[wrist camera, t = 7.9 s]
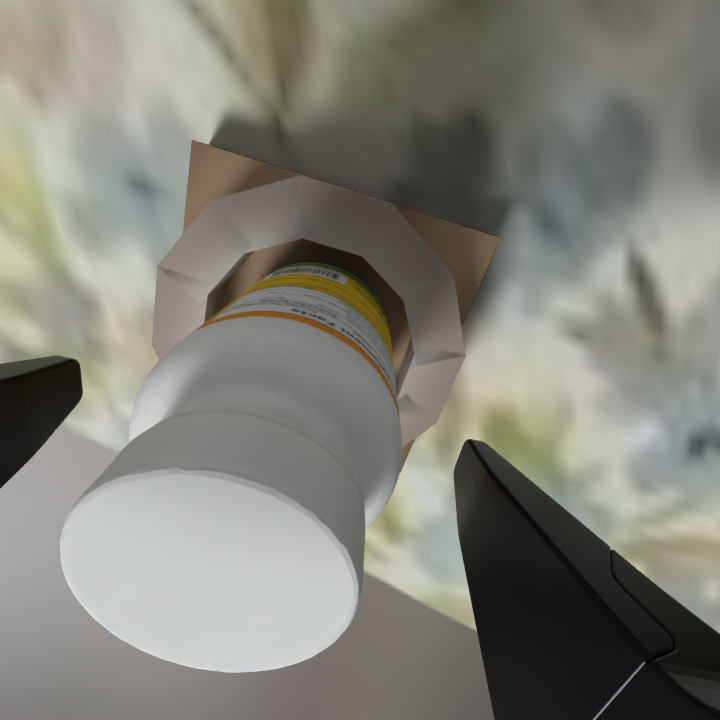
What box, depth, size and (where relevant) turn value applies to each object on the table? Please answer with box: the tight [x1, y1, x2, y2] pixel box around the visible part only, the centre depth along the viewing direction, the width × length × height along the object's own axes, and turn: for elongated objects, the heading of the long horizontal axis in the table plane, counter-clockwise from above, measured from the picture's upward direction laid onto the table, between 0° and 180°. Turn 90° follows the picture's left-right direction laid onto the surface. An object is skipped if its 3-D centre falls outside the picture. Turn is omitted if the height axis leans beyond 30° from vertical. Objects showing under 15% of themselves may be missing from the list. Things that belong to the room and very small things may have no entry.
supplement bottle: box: [60, 262, 402, 672], centre depth 9 cm, size 5×5×10 cm
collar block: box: [152, 140, 500, 473], centre depth 14 cm, size 10×10×3 cm
